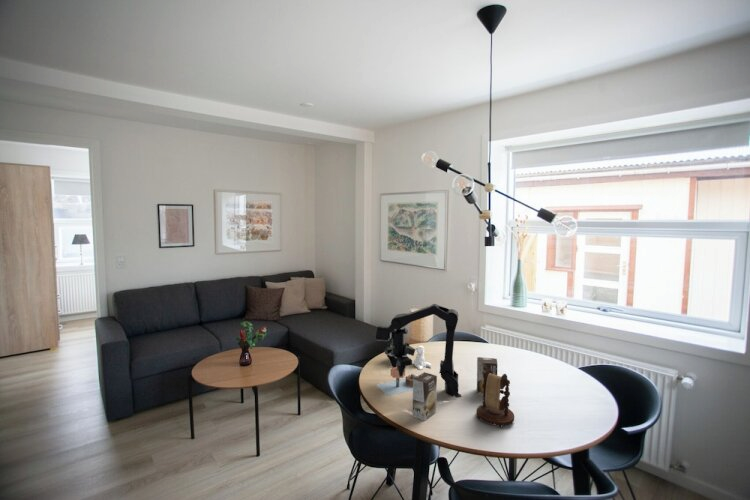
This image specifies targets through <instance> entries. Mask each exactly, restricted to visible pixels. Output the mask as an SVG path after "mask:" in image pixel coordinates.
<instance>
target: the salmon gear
mask: <svg viewBox="0 0 750 500" xmlns="http://www.w3.org/2000/svg"><path fill="white" fill-rule="evenodd" d="M390 376H391V377H392V378H393V379H396V378H397V379H399V380H400V379H403V378H405V377H406V369H405V370H404V373H403V376H401V377H400V375H399V372H398V369H397V367H392V366H391V368H390Z"/></svg>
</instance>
